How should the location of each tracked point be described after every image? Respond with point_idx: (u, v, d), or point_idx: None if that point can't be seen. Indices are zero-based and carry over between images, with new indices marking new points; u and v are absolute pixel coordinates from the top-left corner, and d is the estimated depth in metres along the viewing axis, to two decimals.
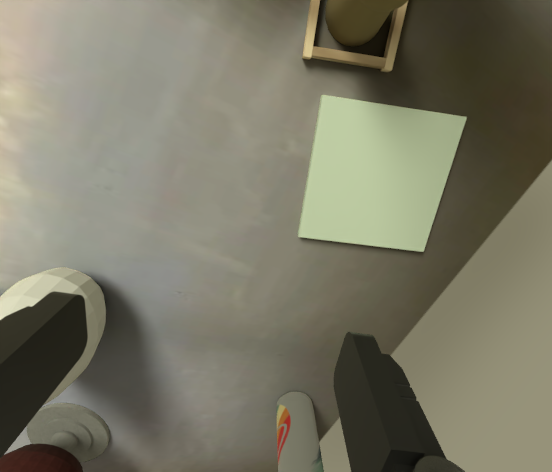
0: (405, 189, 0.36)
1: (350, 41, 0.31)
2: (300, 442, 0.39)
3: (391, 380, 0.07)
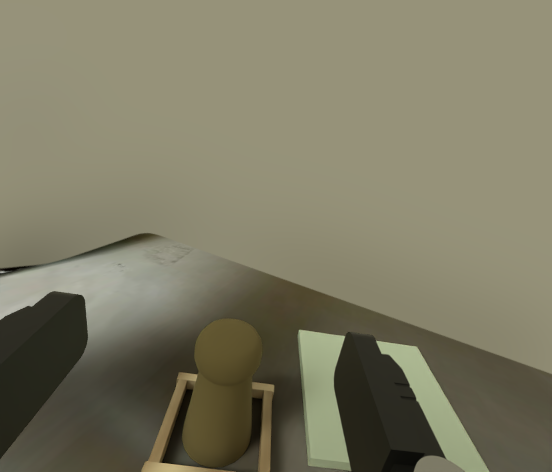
0: None
1: (251, 427, 0.27)
2: None
3: (391, 380, 0.07)
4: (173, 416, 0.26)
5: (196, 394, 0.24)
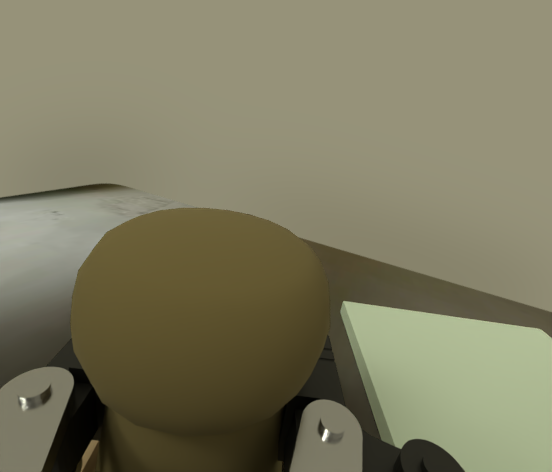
0: (488, 359, 0.20)
1: None
2: None
3: None
4: None
5: (101, 454, 0.07)
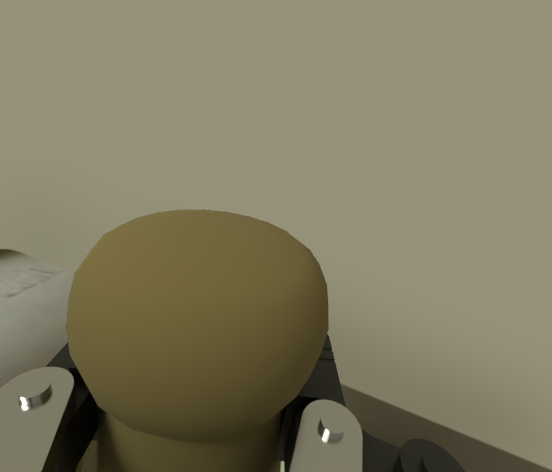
0: None
1: None
2: None
3: None
4: None
5: (98, 458, 0.07)
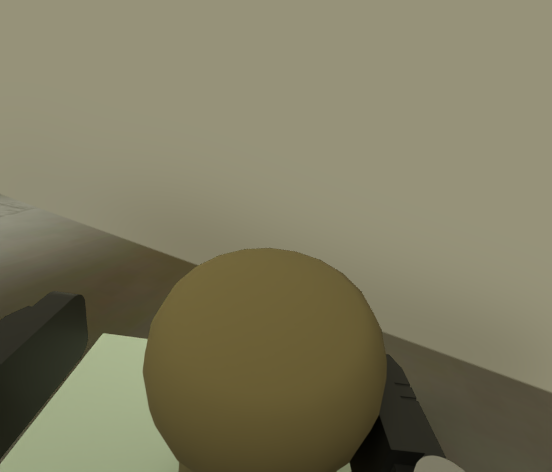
0: None
1: None
2: None
3: (391, 380, 0.07)
4: None
5: None
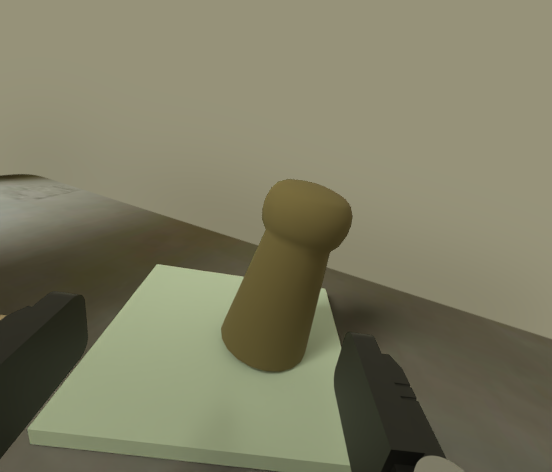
0: None
1: None
2: None
3: (391, 380, 0.07)
4: None
5: (258, 269, 0.18)
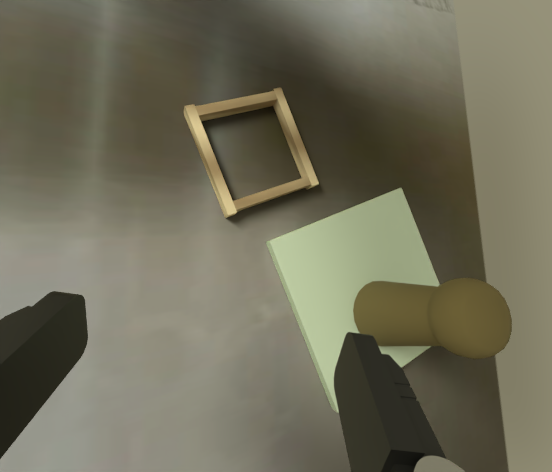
0: (401, 280, 0.31)
1: None
2: None
3: (391, 380, 0.07)
4: (238, 105, 0.27)
5: (404, 301, 0.23)
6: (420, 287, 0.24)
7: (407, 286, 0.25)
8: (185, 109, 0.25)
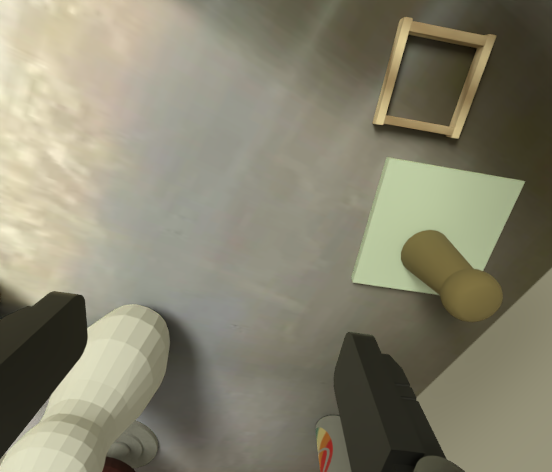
0: (458, 244, 0.38)
1: None
2: (344, 468, 0.43)
3: (391, 380, 0.07)
4: (446, 37, 0.30)
5: (443, 259, 0.32)
6: (461, 259, 0.32)
7: (454, 252, 0.33)
8: (403, 20, 0.29)
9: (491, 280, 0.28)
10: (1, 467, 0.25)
